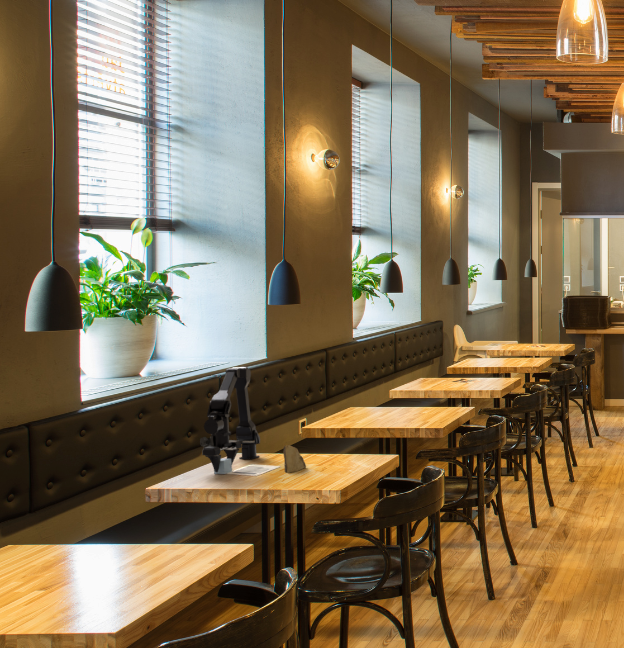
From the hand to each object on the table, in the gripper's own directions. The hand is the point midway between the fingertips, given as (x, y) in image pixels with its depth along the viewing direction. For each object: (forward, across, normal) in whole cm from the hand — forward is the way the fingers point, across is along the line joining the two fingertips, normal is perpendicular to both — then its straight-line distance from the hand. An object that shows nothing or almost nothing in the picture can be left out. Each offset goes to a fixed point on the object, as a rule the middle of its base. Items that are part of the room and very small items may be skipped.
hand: (223, 469), depth 314 cm
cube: (+1, 0, 0) cm, 1 cm away
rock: (+1, -14, +25) cm, 28 cm away
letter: (+1, -8, +9) cm, 12 cm away
